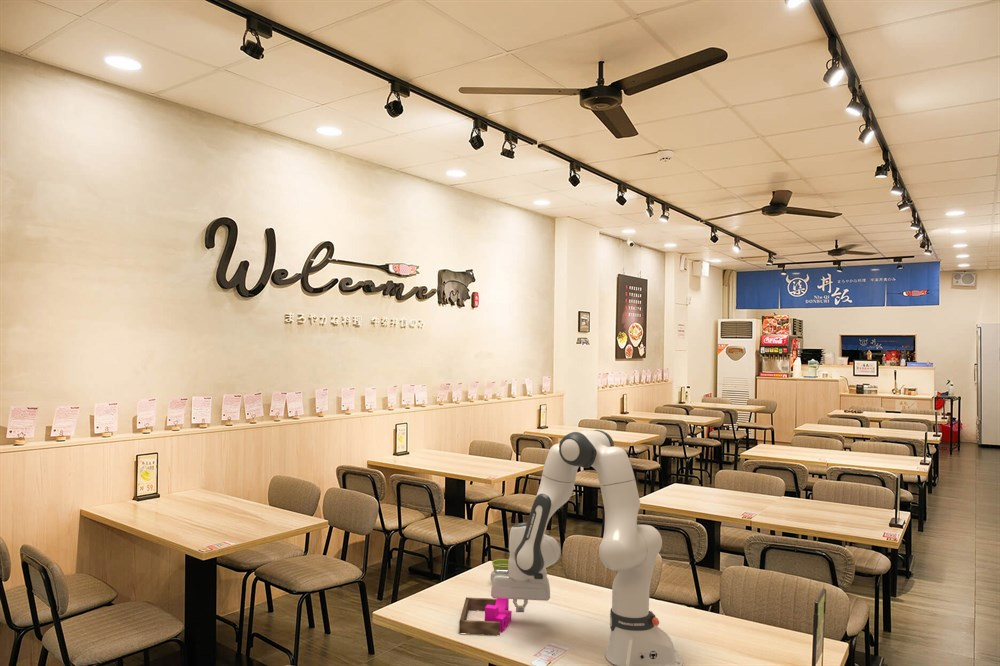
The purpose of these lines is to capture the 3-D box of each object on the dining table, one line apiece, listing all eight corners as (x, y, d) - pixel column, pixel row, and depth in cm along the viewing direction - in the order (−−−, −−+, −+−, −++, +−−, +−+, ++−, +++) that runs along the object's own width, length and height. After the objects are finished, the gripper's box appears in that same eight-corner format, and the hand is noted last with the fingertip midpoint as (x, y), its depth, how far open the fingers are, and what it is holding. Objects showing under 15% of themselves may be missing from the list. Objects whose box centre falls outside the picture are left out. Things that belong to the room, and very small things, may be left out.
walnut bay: (502, 610, 237) (502, 598, 237) (499, 635, 216) (499, 623, 216) (465, 608, 238) (466, 597, 238) (459, 633, 217) (459, 621, 217)
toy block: (502, 633, 218) (502, 610, 219) (484, 630, 220) (484, 607, 221) (515, 616, 233) (515, 594, 233) (498, 613, 235) (498, 592, 235)
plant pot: (505, 579, 270) (505, 557, 270) (519, 585, 263) (520, 563, 263) (486, 583, 264) (487, 561, 265) (501, 590, 257) (501, 567, 257)
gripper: (490, 572, 224) (489, 613, 224) (550, 575, 223) (549, 616, 223) (491, 566, 231) (490, 606, 230) (550, 568, 230) (549, 609, 229)
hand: (520, 611), depth 227 cm, fingers closed
